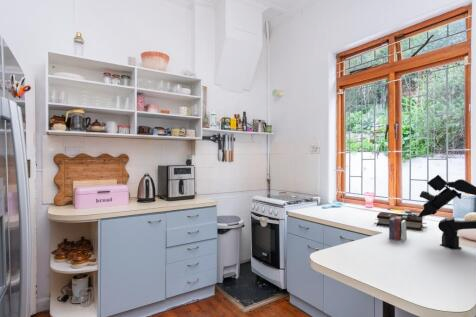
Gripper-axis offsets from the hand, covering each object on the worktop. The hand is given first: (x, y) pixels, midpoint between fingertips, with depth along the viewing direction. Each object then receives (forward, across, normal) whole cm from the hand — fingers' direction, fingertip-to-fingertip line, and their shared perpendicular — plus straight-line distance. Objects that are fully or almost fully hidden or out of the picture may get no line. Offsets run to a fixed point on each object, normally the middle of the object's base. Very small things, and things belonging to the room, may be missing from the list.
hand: (418, 216), depth 149 cm
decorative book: (+21, -37, -2) cm, 43 cm away
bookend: (+14, 0, +5) cm, 15 cm away
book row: (+17, +1, +2) cm, 17 cm away
